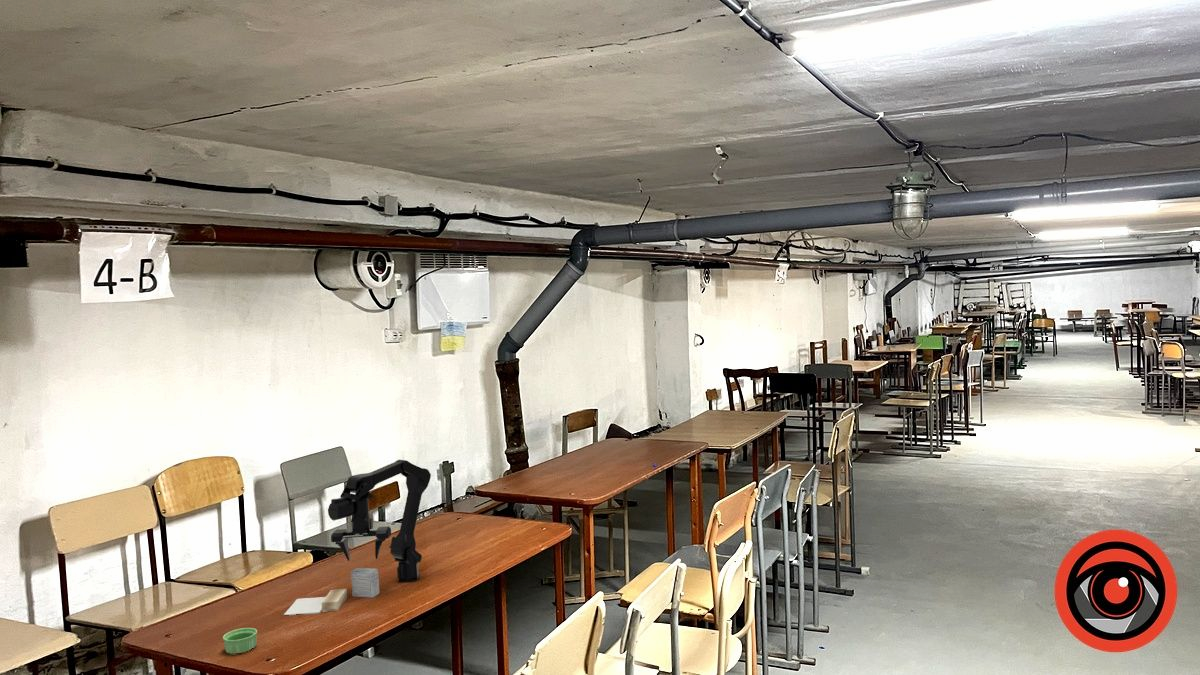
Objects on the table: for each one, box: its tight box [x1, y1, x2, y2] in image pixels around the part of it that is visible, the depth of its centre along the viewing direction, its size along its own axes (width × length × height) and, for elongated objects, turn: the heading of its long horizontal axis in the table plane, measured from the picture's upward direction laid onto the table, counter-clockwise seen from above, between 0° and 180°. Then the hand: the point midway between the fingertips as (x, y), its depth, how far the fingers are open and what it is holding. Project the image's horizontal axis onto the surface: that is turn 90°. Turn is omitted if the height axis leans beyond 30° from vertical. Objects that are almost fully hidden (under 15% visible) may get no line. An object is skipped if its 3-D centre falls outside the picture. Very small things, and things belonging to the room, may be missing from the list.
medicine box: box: [350, 567, 380, 599], centre depth 269 cm, size 8×4×9 cm, turn 71°
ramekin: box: [222, 627, 258, 655], centre depth 229 cm, size 9×9×4 cm
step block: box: [321, 588, 348, 613], centre depth 261 cm, size 5×12×3 cm, turn 4°
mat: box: [283, 596, 326, 616], centre depth 261 cm, size 11×14×1 cm
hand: (362, 559), depth 269 cm, fingers open, 9 cm apart
